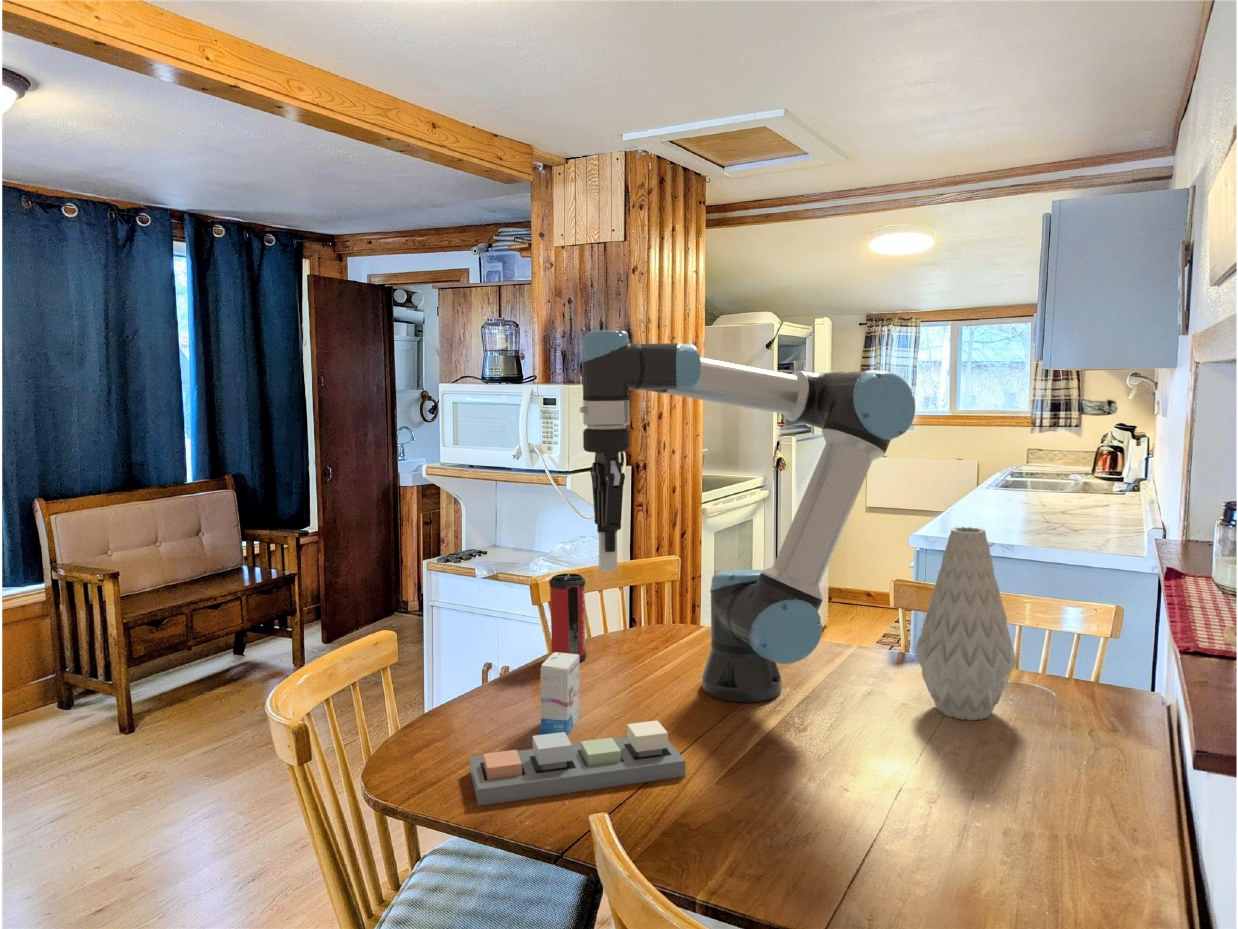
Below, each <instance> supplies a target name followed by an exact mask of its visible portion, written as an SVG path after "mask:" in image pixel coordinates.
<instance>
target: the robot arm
mask: <svg viewBox="0 0 1238 929" xmlns="http://www.w3.org/2000/svg"><path fill="white" fill-rule="evenodd" d="M581 345H582V348H581V359H580V362H581V370H582V372H581V375H582V405H583V406H581V407H579V412H580V413H581V414H583V415H582V419H583V425H584V426H586V428H584V430H583V431H582V436H583V437H582V439H583V440H582V442H583V443H582V444H583V450H584V452H588V453H594V462H592V465H591V466H590V468H589V472H590V477H591V484H592V498H593V500H592V501H593V502H592V503H593V510H594V511H593V512H594V513H593V514H594V524H595V525H597V526H596V532H597V534H598V570H599V571H600V572H601V573H603V572H615V571H618V530H621V529H622V515H623V514H622V513H623V512H622V510H623V497H624V496H623V495H624V484H625V478H626V474H625V473H624V472H622V463H621V462H620V458H619V453H621V452H622V453H624V452H627V451H629V450H630V445H631V444H630V430H629V428H628V427H627V426H628V425H629V424H630V422H631V420H630V417H631V415H630V395H629V394H630V390H634V391H635V390H641V391H647V392H652V393H653V392H654V393H657V394H658V393H660V394H661V393H662V394H667V395H672V396H677V397H678V396H679V397H683V398H684V397H685V398H689V399H695V400H701V401H706V402H713V403H720V404H725V405H730V406H736V407H742V408H745V409H746V408H748V409H752V410H753V409H754V410H759V411H766V412H770V413H777V414H782V415H783V416H784V418H785V419H786V420H788V421H791V422H795V423H796V422H797V423H801V424H805V425H809V426H811V427H815V428H819V429H822V430H821V433H822V437H823V439H824V441H825V444H824V447H823V449H822V451H821V454H820V456H819V459H818V460H817V463H816V466H815V468H814V470H813V473H812V475H811V477H810V479H809V481H808V484H807V487H806V489H805V491H804V493H803V496H802V498H801V500H800V503H799V505H798V508H797V510H796V512H795V515H794V517H793V519H792V521H791V523H790V527H789V528H788V530H787V534H786V535H785V538H784V540H783V542H782V545H781V547H780V550H779V552H778V554H777V556H776V560H775V561H774V564H773V565H772V566H771V567H769V568H768V567H767V568H766V569H732V570H725V571H719V572H717V573H715V574H714V575H713V576H712V578H711V585H710V590H709V592H710V630H711V631H710V634H711V636H710V637H711V638H710V639H711V641H710V643H711V644H710V645H711V646H710V647H711V648H710V651H709V655H708V657H707V661H706V664H705V667H704V669H703V672H702V678H701V680H702V684H701V685H702V687H701V688H702V690H703V692H704V693H705V694H707V695H709V696H710V697H713V698H716V699H719V700H723V701H728V702H735V703H758V702H764V701H768V700H771V699H774V698H776V697H778V696H779V695H780V694H781V693H782V677H781V674H780V670H779V667H778V664H781V665H782V664H783V665H790V664H791V665H792V664H795V663H797V662H799V661H802V660H804V659H806V658H807V657H808V656H809V655H811V654H812V652H814V651H815V649H816V648H817V646H818V644H819V643H820V640H821V638H822V634H823V623H822V621H821V619H822V618H821V616H820V614H819V610H820V608H821V605H822V604H823V600H824V596H823V594H822V591H821V589H820V585H821V582H822V580H823V577H824V575H825V573H826V571H827V568H828V565H829V563H830V562H831V559H832V556H833V554H834V551H835V550H836V548H837V545H838V543H839V539H840V538H841V535H842V533H843V531H844V529H845V526H846V523H847V521H848V519H849V517H850V514H851V512H852V509H853V506H854V505H855V503H856V500H857V498H858V495H859V493H860V491H861V488H862V486H863V483H864V482H865V479H866V476H867V474H868V471H869V470H870V467H871V465H872V463H873V461H875V460H877V459H880V458H883V457H884V456H885V454H886V452H887V450H888V448H889V445H890V443H891V441H892V440H894V439H897V438H899V437H900V436H902V435H904V434H905V433H906V432H908V430H909V429H910V427H911V426H912V424H913V422H914V419H915V414H916V402H915V400H916V399H915V397H914V396H913V392H912V388H911V387H910V386H909V384H908V383H907V382H906V381H905V379H903V378H902V377H901V376H900V375H898V374H896V373H894V372H891V371H889V372H888V371H883V370H879V369H871V370H866V371H863V370H862V371H835V372H811V371H809V372H808V371H802V370H795V371H793V372H792V373H791V374H789V373H784V372H778V371H773V370H770V369H762V368H757V367H753V366H748V365H747V366H746V365H741V364H737V363H736V364H735V363H730V362H726V361H725V362H724V361H720V360H715V359H714V360H713V359H709V358H703V357H701V355H700V352H699V349H698V348H697V346H695V345H694V344H691V343H680V342H676V343H675V342H674V343H673V342H672V343H635V342H630V339H629V333H628V332H626V331H625V330H613V329H611V330H591V331H587V332H586V333H585V334H584V335H583V337H582V344H581Z"/></svg>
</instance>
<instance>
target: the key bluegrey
mask: <svg viewBox="0 0 1238 929" xmlns="http://www.w3.org/2000/svg"><path fill="white" fill-rule="evenodd" d="M572 744H573V743H571V740H570V739H569V737H568V735H566V733H565V732H560V733H552V734H537V735H532V749H533V753H534V755H535V757H536V760H537V762H538V764H539V765H541V767H542V769H543V770H542V771H546V770H555V769H562V768H568V766H567V761H572Z"/></svg>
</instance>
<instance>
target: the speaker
mask: <svg viewBox="0 0 1238 929" xmlns="http://www.w3.org/2000/svg"><path fill="white" fill-rule="evenodd" d="M548 584H549V589H550V590H549V591H550V592H549V593H550V619H551V621H550V626H551V628H550V629H551V632H550V633H551V638H550V639H551V641H550V644H551V650H550V651H551V654H550V656H551V655H552V653H554V652H558V653H568V654H578V655H579V662H582V661H584V660H585V659H586V658H587V649H586V609H585V608H586V606H585V605H586V602H585V600H586V598H585V596H586V595H585V586H586V579H585V578H584V577H582V575H581V574H577V573H571V572H570V573H569V572H568V573H558V574H556V575H552V577H551V578H550V579H549V580H548Z"/></svg>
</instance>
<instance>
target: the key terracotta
mask: <svg viewBox="0 0 1238 929" xmlns="http://www.w3.org/2000/svg"><path fill="white" fill-rule="evenodd" d="M517 751H518V749H510V750H503V751H497V752H487V753H486V752H485V753H483V754H482V755H483V759H484V772H485V775H486V777H485V778H486V780H492V779H499V778H507V777H514V776H522V763H521V760H520V758H519V755H518V752H517Z"/></svg>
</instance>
